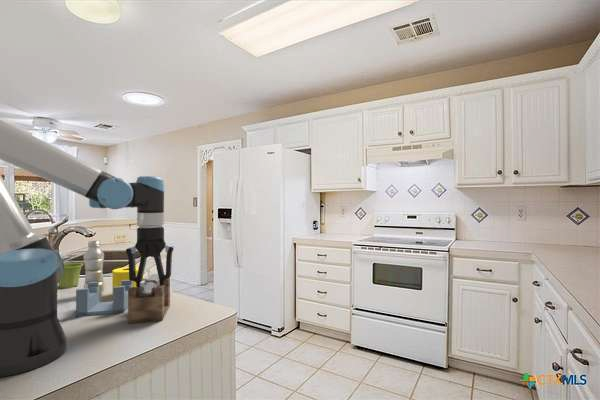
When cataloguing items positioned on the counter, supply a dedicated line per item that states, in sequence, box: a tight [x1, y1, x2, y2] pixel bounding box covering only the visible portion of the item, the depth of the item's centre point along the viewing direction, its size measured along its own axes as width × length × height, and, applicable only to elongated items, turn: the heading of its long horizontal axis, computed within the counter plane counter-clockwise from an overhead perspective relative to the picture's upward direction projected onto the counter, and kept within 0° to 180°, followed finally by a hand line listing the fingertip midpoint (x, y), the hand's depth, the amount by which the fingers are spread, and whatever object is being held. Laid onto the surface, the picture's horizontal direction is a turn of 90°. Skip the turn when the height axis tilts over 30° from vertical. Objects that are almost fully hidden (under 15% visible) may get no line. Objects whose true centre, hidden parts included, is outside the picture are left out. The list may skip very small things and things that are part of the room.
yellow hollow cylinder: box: [112, 265, 139, 288], centre depth 113 cm, size 10×10×9 cm
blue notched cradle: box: [75, 280, 132, 317], centre depth 97 cm, size 9×13×8 cm
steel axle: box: [138, 273, 159, 297], centre depth 93 cm, size 12×4×4 cm, turn 14°
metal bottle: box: [83, 240, 105, 295], centre depth 112 cm, size 6×7×20 cm
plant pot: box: [58, 262, 84, 289], centre depth 124 cm, size 9×9×9 cm
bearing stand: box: [127, 277, 171, 325], centre depth 93 cm, size 9×13×10 cm
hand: (150, 302), depth 93 cm, fingers closed on steel axle, 4 cm apart
